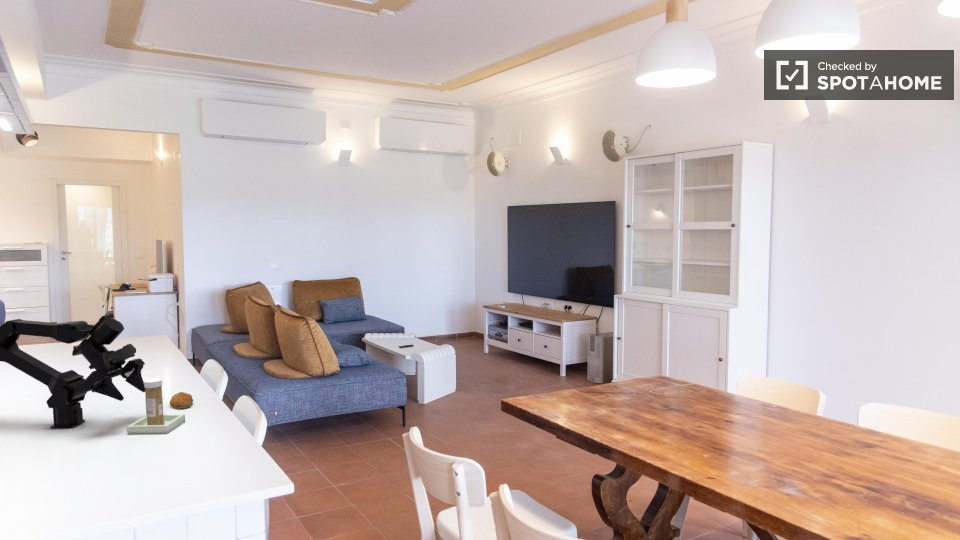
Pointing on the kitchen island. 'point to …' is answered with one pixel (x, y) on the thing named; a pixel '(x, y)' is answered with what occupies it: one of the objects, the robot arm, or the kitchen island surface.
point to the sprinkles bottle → (154, 401)
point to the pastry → (181, 400)
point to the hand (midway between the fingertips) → (134, 395)
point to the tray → (169, 425)
